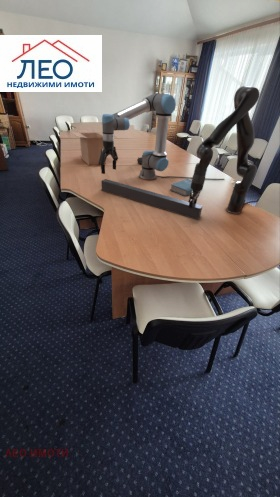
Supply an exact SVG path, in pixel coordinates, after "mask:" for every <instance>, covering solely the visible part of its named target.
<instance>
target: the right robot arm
mask: <svg viewBox="0 0 280 497" xmlns="http://www.w3.org/2000/svg"><path fill="white" fill-rule="evenodd" d="M259 99H260V89H259V88H257V87H255V86H248V85H242V86H239V87H238V88H237V90H236V91H235V93H234V95H233V107H234V110H233V112H232V113H230V114H229V115H228V116H227V117H226V118H224V119H222V120H221V121H220V122H219V123H218V124H217V125H216V126H215V128H214V129H213V131H212V132H211V133H210V135H209V136H208V137H207V138H206V139H204V140H203V141H202V142H201V143H200V144H199V146H198V147H197V149H196V156H197V157H198V158H199V161H198V162H196V164H195V166H194V171H193V174H192V177H191V180H192V182H191V189H193V191H192V192H191V193H190V194H189V197H188V198H189V199H188V201H187V202H189V208H192V206H193V203H194V204H197V201H198V199H199V197H200V194H201V191H203V189H204V186H205V185H204V184H205V180H206V175H207V172H208V168H209V165H210V164H211V162H212V160H213V157H214V150H213V148H214V147H217V146H219V145H220V144H221V142H222V141H223V140H224V139H225V137H226V136H227V135H228V134H229V132H230V131H231V130H232V129H233V128H234V127H235V126H236V145H237V146H236V153H237V154H236V158H237V159H236V169H235V170H236V171H235V172H236V175H237V176H238V177H241V178H242V179H241V181H236V182H235V183H234V185H233V189H232V192H231V195H230V198H229V200H228V203H227V207H226V211H227V213H229V214H233V215H239V214H240V213H242V211H243V208H244V206H245V205H247V204H250V203H258V202H259V200H260V198H257V199H256V200H251V201H246V197H247V195H248V193H249V192H248V191H249V189H250V188H251V186H252V184H253V182H254V180H255V177H256V174H257V171H258V166H257V165H256V164H254V163H250V162H249V161H248V160H249V158H248V156H249V153H250V151H251V149H252V148H253V146H254V144H255V128H254V125H253V122H252V120H251V116H250V113H249V112H250V111H252V109H253V107H255V105H256V104H257V103H258V102H259Z"/></svg>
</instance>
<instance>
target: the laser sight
mask: <svg viewBox="0 0 280 497" xmlns="http://www.w3.org/2000/svg"><path fill="white" fill-rule="evenodd" d="M142 158H143V154H142V155H141V157H137V159H136V162H137V164H139V165H142Z"/></svg>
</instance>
